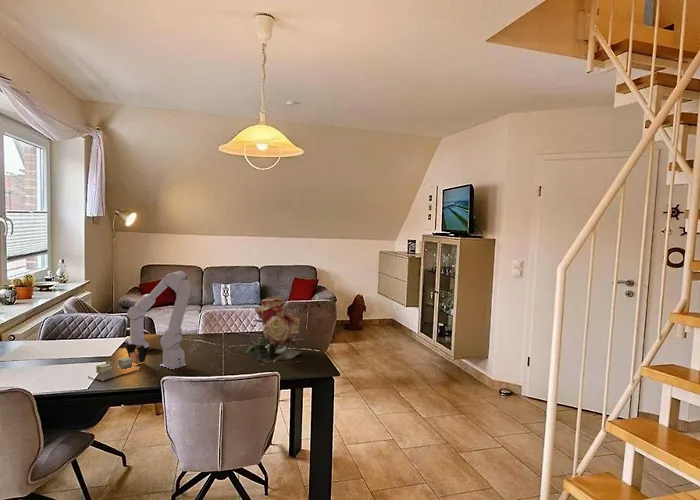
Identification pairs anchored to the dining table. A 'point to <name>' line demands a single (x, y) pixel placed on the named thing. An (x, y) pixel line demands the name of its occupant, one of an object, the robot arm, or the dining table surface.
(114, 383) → the dining table surface
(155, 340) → the potato
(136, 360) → the terracotta block
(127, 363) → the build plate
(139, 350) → the robot arm
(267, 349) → the rose bouquet
